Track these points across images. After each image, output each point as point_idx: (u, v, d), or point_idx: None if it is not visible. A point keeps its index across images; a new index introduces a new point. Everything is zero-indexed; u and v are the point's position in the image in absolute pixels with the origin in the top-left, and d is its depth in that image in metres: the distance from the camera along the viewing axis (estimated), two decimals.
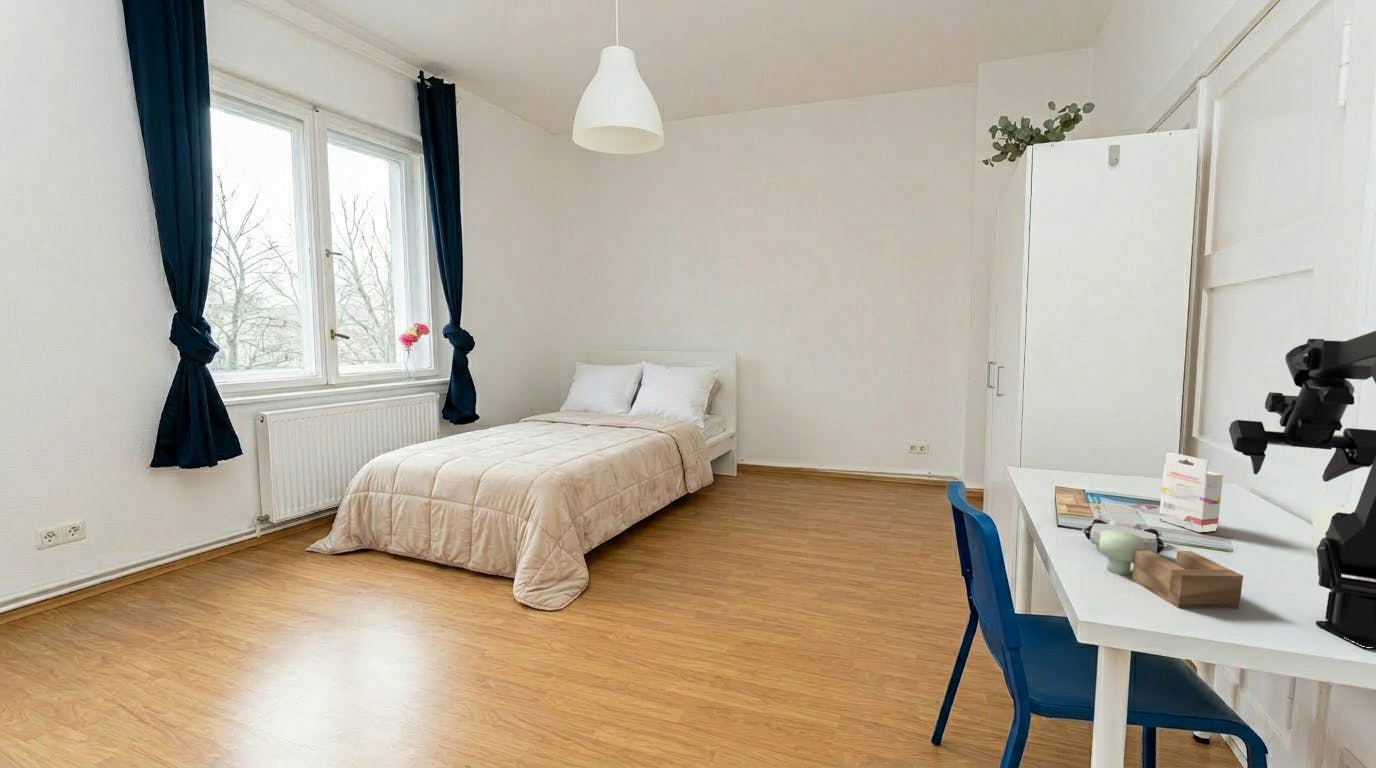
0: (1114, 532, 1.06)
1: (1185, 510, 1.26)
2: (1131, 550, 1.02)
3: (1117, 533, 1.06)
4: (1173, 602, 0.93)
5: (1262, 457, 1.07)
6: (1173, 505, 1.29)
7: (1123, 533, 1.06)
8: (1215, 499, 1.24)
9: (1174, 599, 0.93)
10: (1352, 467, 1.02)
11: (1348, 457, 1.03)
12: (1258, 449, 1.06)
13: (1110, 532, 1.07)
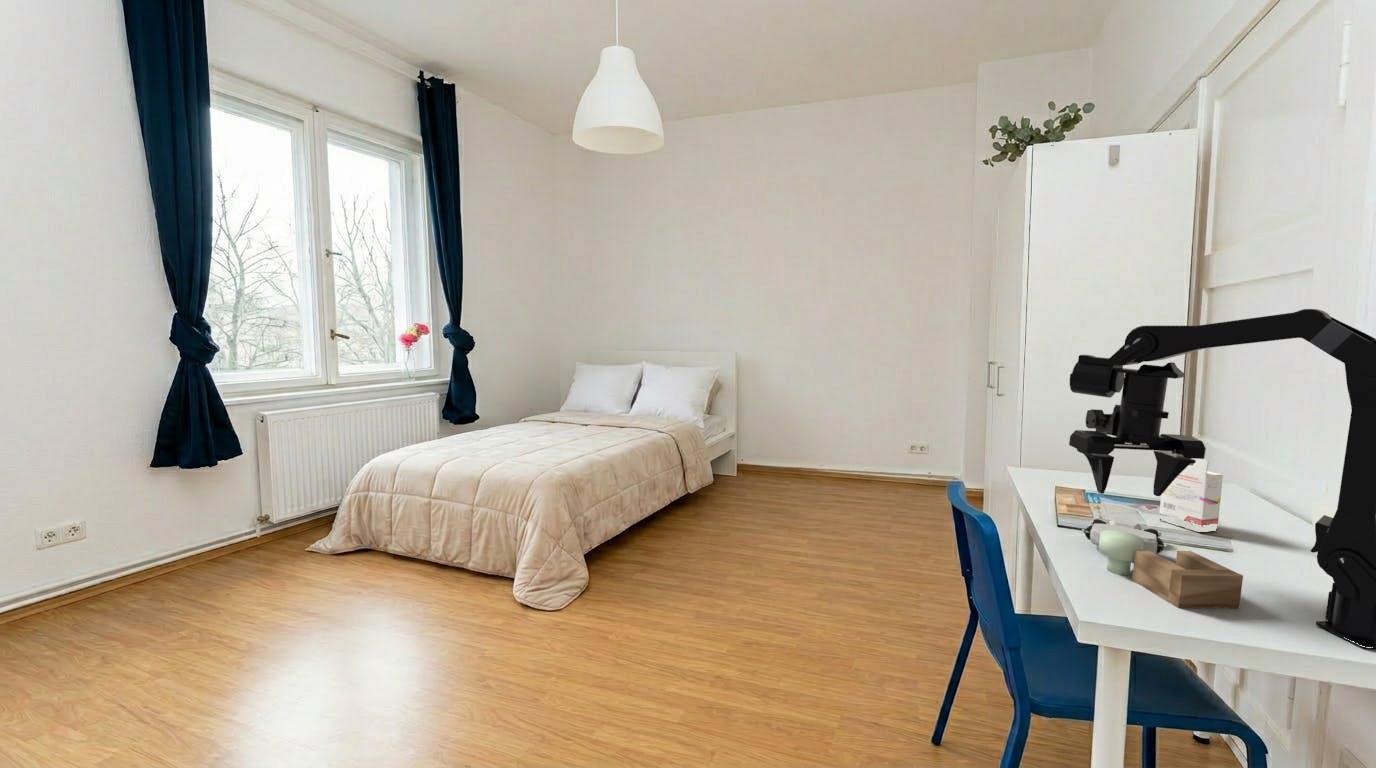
0: (1114, 532, 1.06)
1: (1185, 510, 1.26)
2: (1131, 550, 1.02)
3: (1117, 533, 1.06)
4: (1173, 602, 0.93)
5: (1111, 460, 1.02)
6: (1173, 505, 1.29)
7: (1123, 533, 1.06)
8: (1215, 499, 1.24)
9: (1174, 599, 0.93)
10: (1181, 466, 1.02)
11: (1174, 457, 1.03)
12: (1108, 448, 1.01)
13: (1110, 532, 1.07)
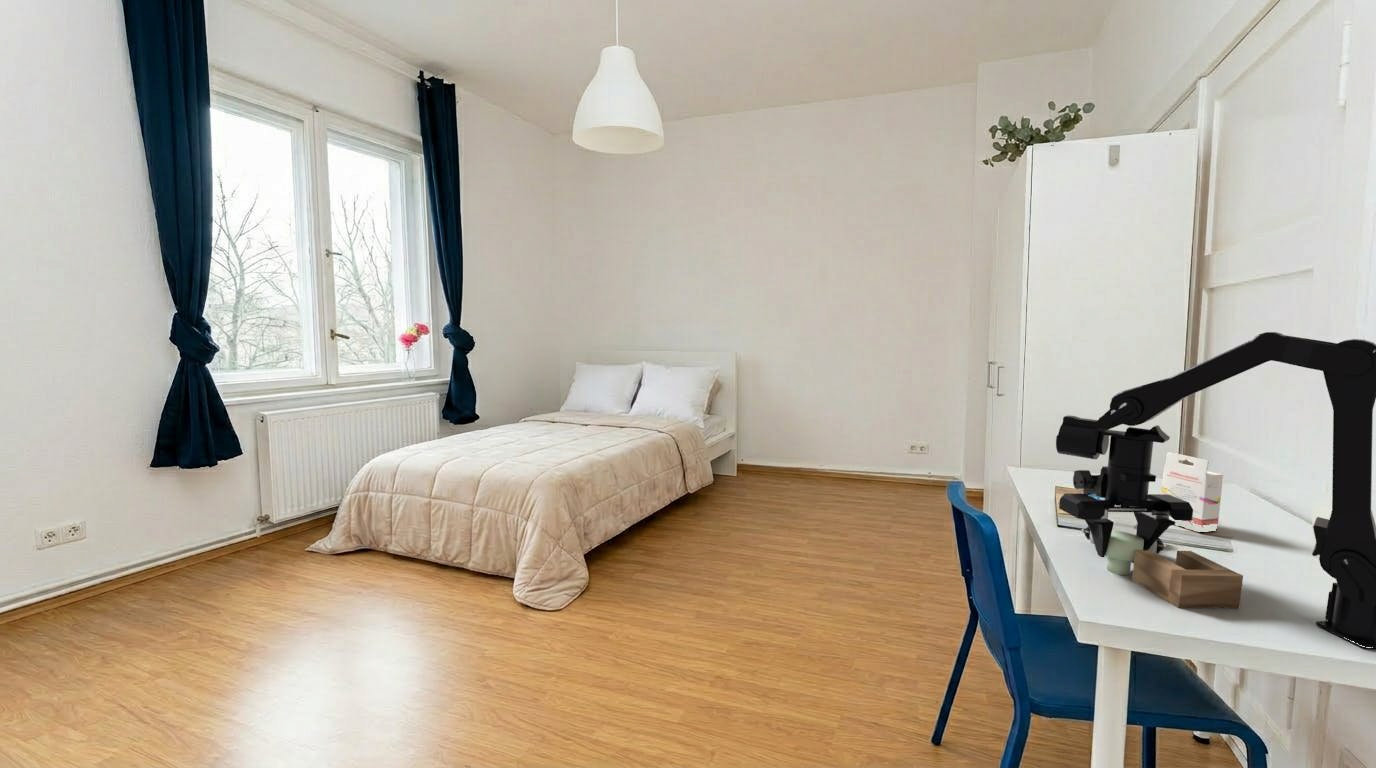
0: (1114, 532, 1.06)
1: None
2: (1131, 550, 1.02)
3: (1117, 533, 1.06)
4: (1173, 602, 0.93)
5: (1111, 525, 1.01)
6: None
7: (1123, 533, 1.06)
8: (1215, 499, 1.24)
9: (1174, 599, 0.93)
10: (1162, 528, 1.02)
11: (1154, 519, 1.03)
12: (1098, 513, 1.01)
13: None
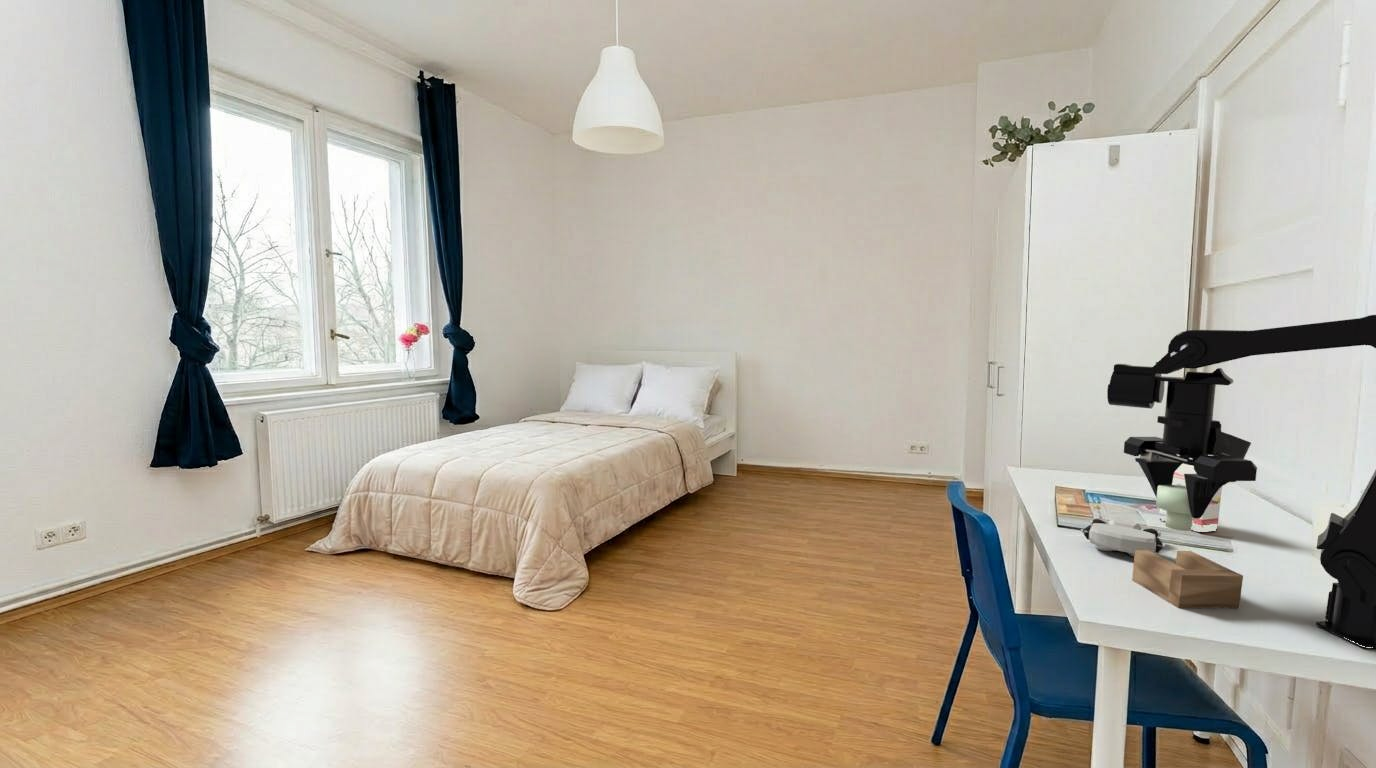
0: None
1: None
2: (1160, 497, 0.98)
3: None
4: (1173, 602, 0.93)
5: (1145, 465, 1.01)
6: None
7: None
8: (1215, 499, 1.24)
9: (1174, 599, 0.93)
10: (1189, 482, 0.93)
11: (1195, 474, 0.93)
12: (1134, 450, 1.03)
13: None
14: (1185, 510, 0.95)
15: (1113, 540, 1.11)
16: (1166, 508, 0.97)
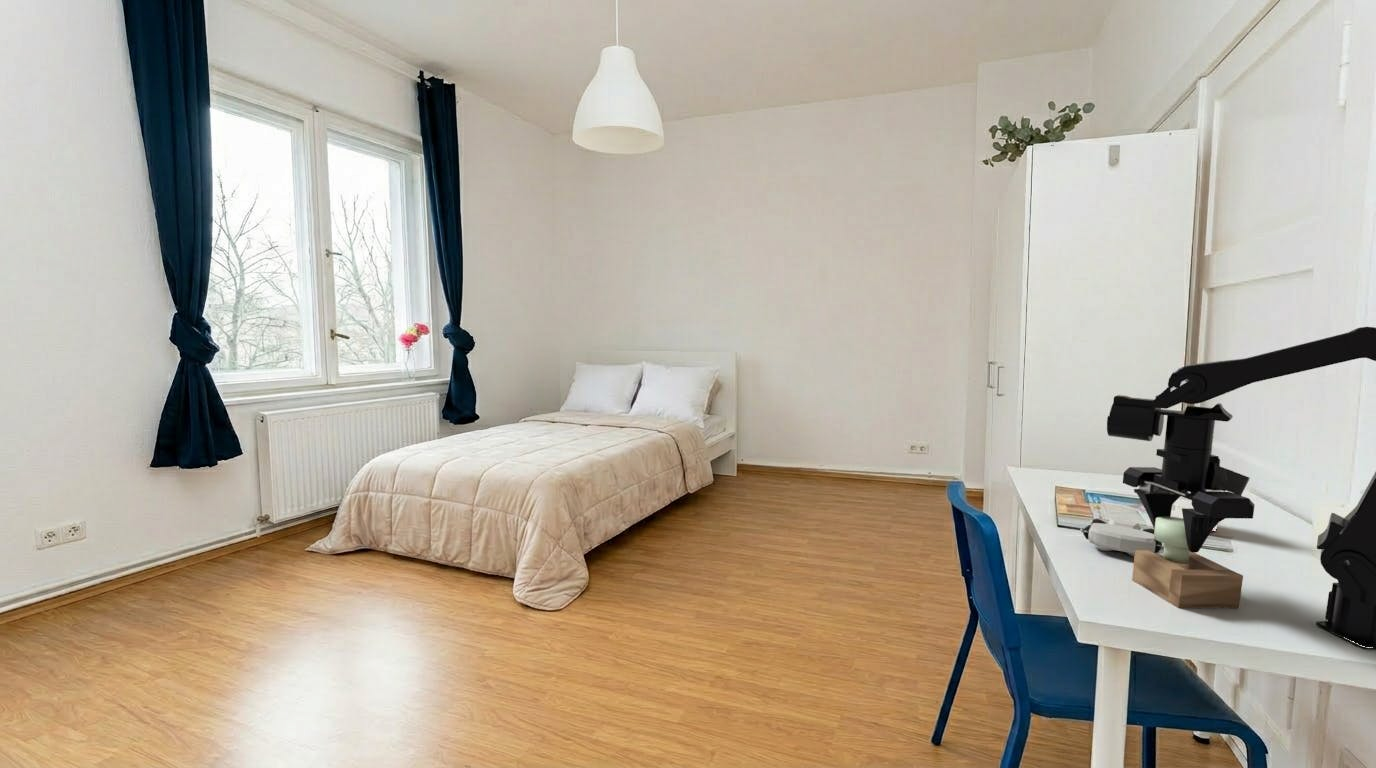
0: None
1: None
2: (1158, 529, 0.98)
3: None
4: (1173, 602, 0.93)
5: (1144, 496, 1.02)
6: (1173, 505, 1.29)
7: None
8: None
9: (1174, 599, 0.93)
10: (1187, 517, 0.93)
11: None
12: (1133, 481, 1.04)
13: None
14: (1182, 544, 0.96)
15: (1113, 540, 1.11)
16: (1164, 541, 0.97)
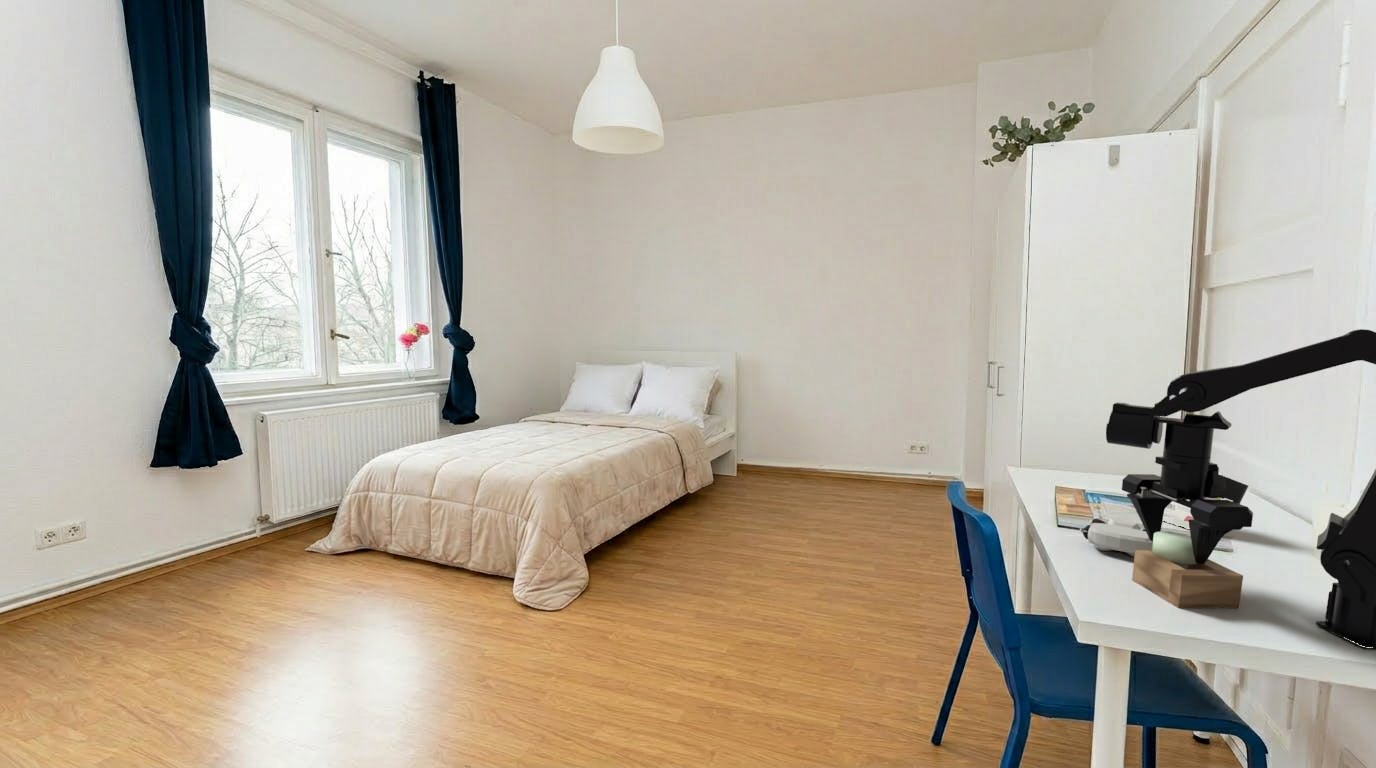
0: (1190, 538, 0.98)
1: (1185, 510, 1.26)
2: (1156, 545, 0.99)
3: (1188, 539, 0.98)
4: (1173, 602, 0.93)
5: (1136, 501, 1.03)
6: (1173, 505, 1.29)
7: None
8: (1215, 499, 1.24)
9: (1174, 599, 0.93)
10: (1193, 528, 0.92)
11: None
12: (1132, 488, 1.04)
13: (1189, 537, 0.99)
14: (1180, 560, 0.96)
15: (1112, 540, 1.11)
16: (1162, 557, 0.98)
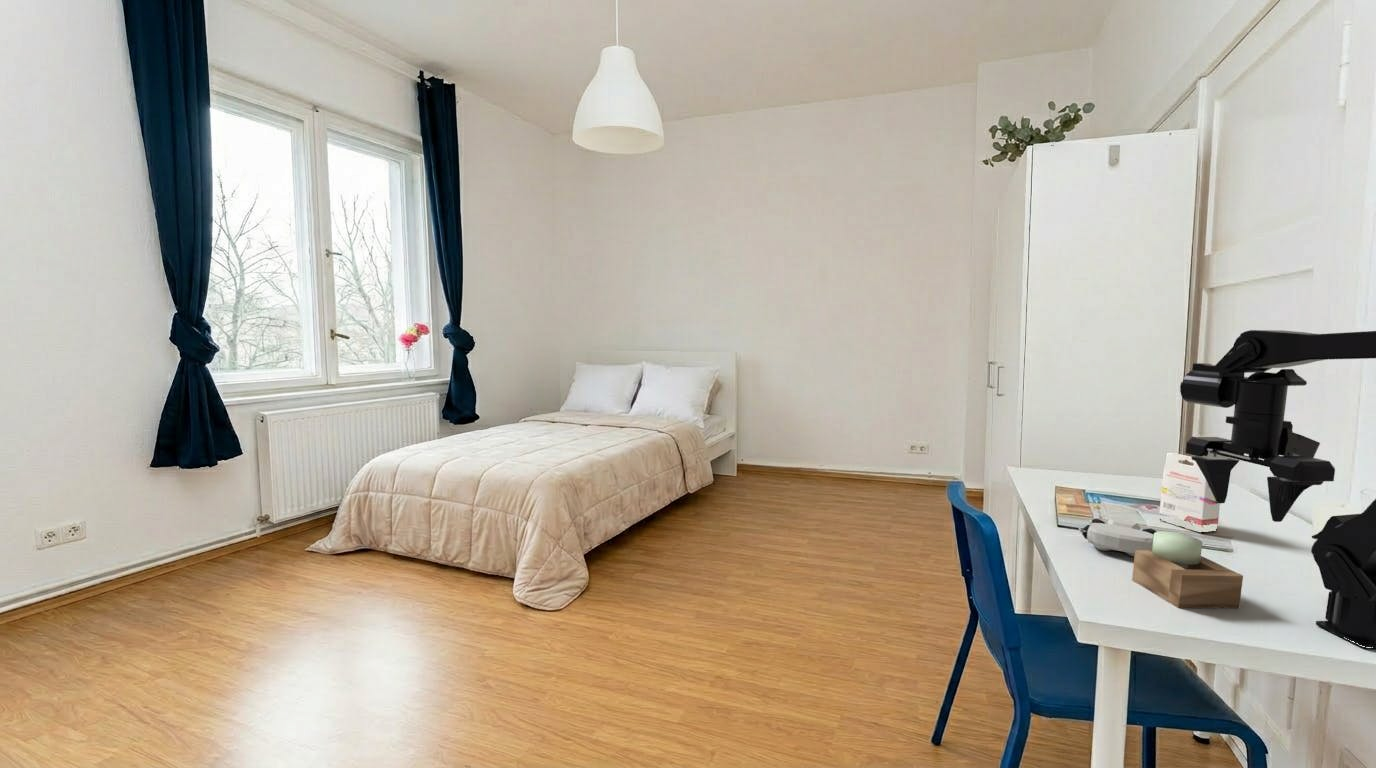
0: (1190, 538, 0.98)
1: (1185, 510, 1.26)
2: (1156, 545, 0.99)
3: (1188, 539, 0.98)
4: (1173, 602, 0.93)
5: (1203, 463, 1.02)
6: (1173, 505, 1.29)
7: (1193, 541, 0.97)
8: None
9: (1174, 599, 0.93)
10: (1273, 485, 0.91)
11: (1278, 476, 0.92)
12: (1198, 450, 1.03)
13: (1189, 537, 0.99)
14: (1180, 560, 0.96)
15: (1111, 540, 1.11)
16: (1162, 557, 0.98)
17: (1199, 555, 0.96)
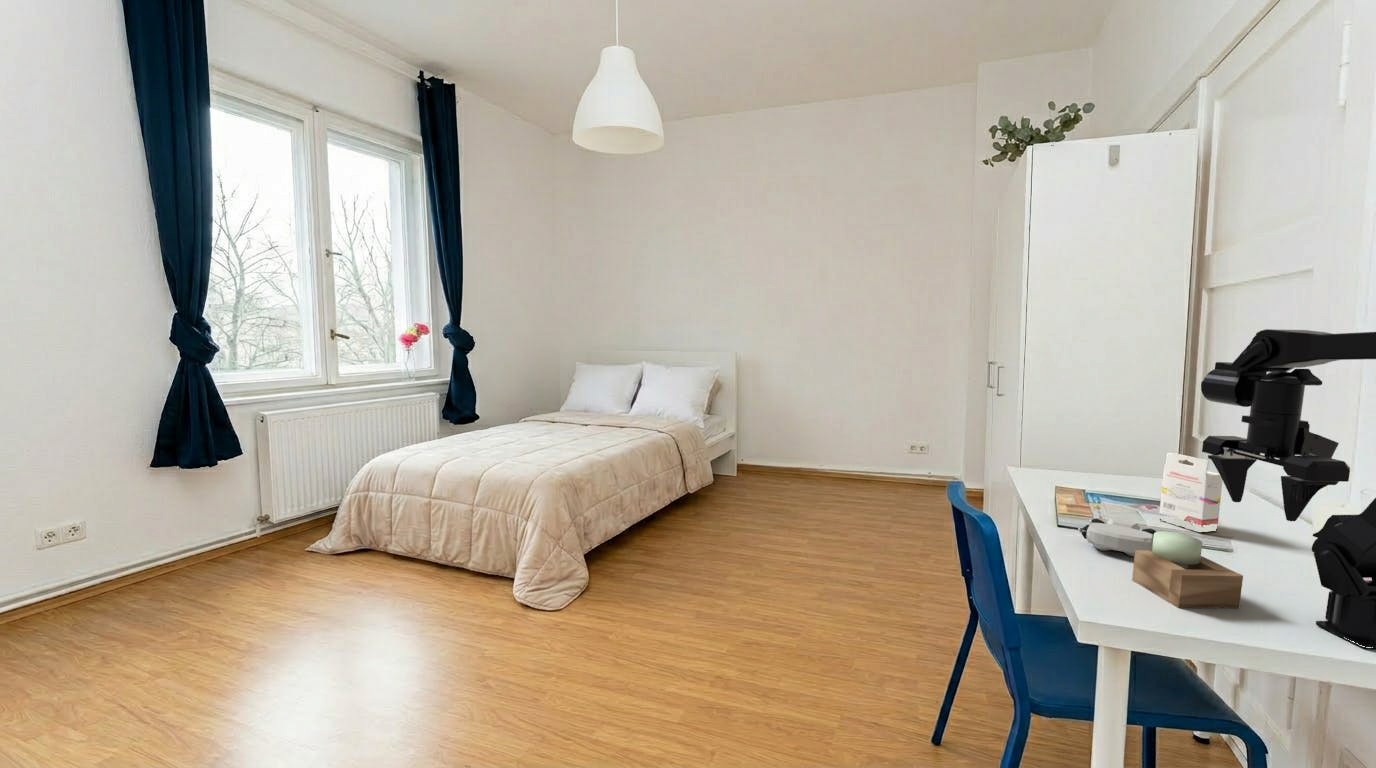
0: (1190, 538, 0.98)
1: (1185, 510, 1.26)
2: (1156, 545, 0.99)
3: (1188, 539, 0.98)
4: (1173, 602, 0.93)
5: (1219, 462, 1.03)
6: (1173, 505, 1.29)
7: (1193, 541, 0.97)
8: (1215, 499, 1.24)
9: (1174, 599, 0.93)
10: (1287, 485, 0.91)
11: (1292, 476, 0.92)
12: (1214, 449, 1.03)
13: (1189, 537, 0.99)
14: (1180, 560, 0.96)
15: (1110, 540, 1.11)
16: (1162, 557, 0.98)
17: (1199, 555, 0.96)
